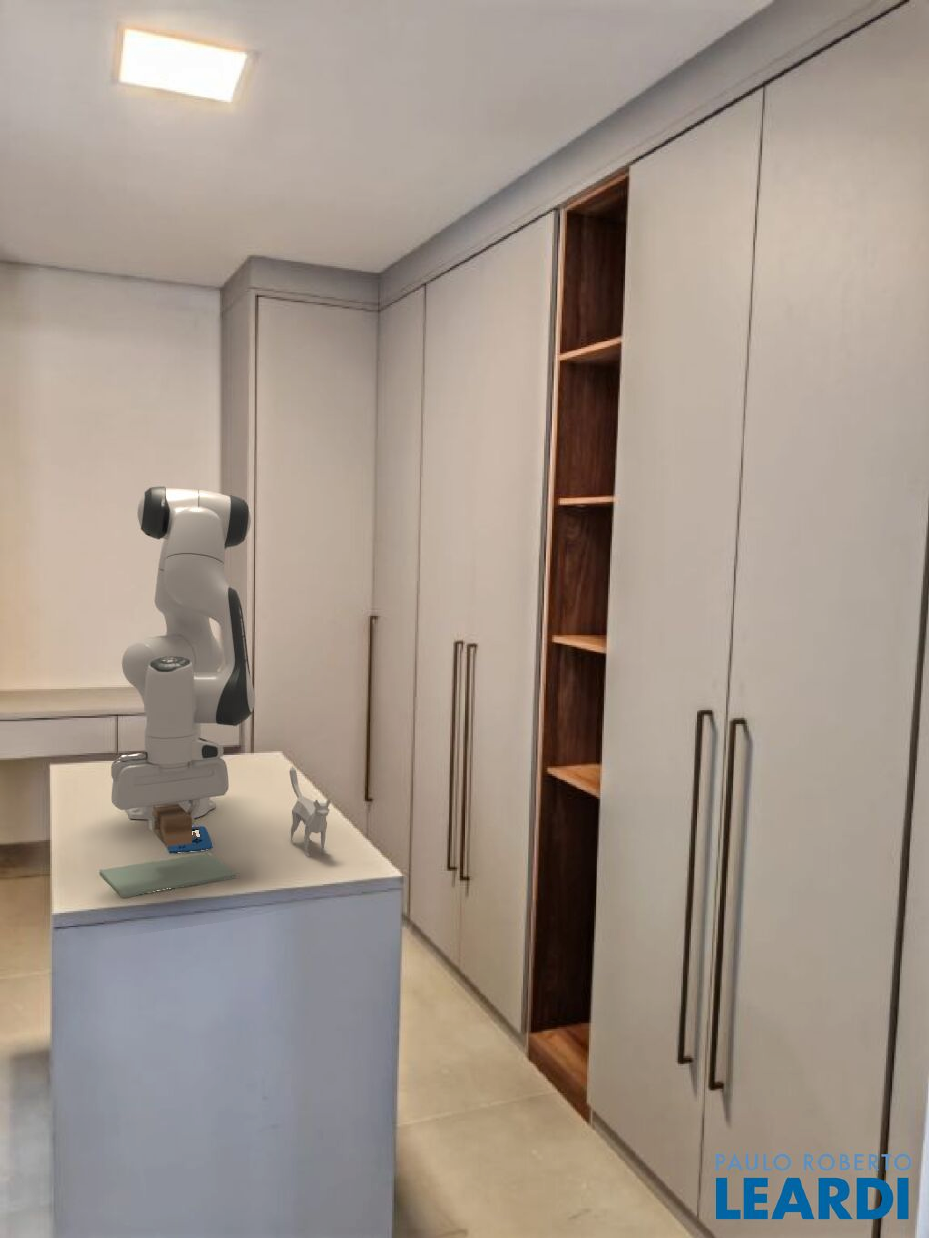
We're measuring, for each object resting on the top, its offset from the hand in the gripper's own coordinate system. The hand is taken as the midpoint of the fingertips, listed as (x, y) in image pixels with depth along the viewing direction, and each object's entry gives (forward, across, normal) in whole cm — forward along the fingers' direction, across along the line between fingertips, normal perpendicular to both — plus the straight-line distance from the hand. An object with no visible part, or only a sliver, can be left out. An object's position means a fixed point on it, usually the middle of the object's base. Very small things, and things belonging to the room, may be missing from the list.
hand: (171, 826), depth 179 cm
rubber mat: (+9, -1, +1) cm, 9 cm away
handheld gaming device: (+9, +10, +18) cm, 23 cm away
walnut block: (+2, 0, 0) cm, 2 cm away
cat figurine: (+9, +28, +3) cm, 30 cm away
